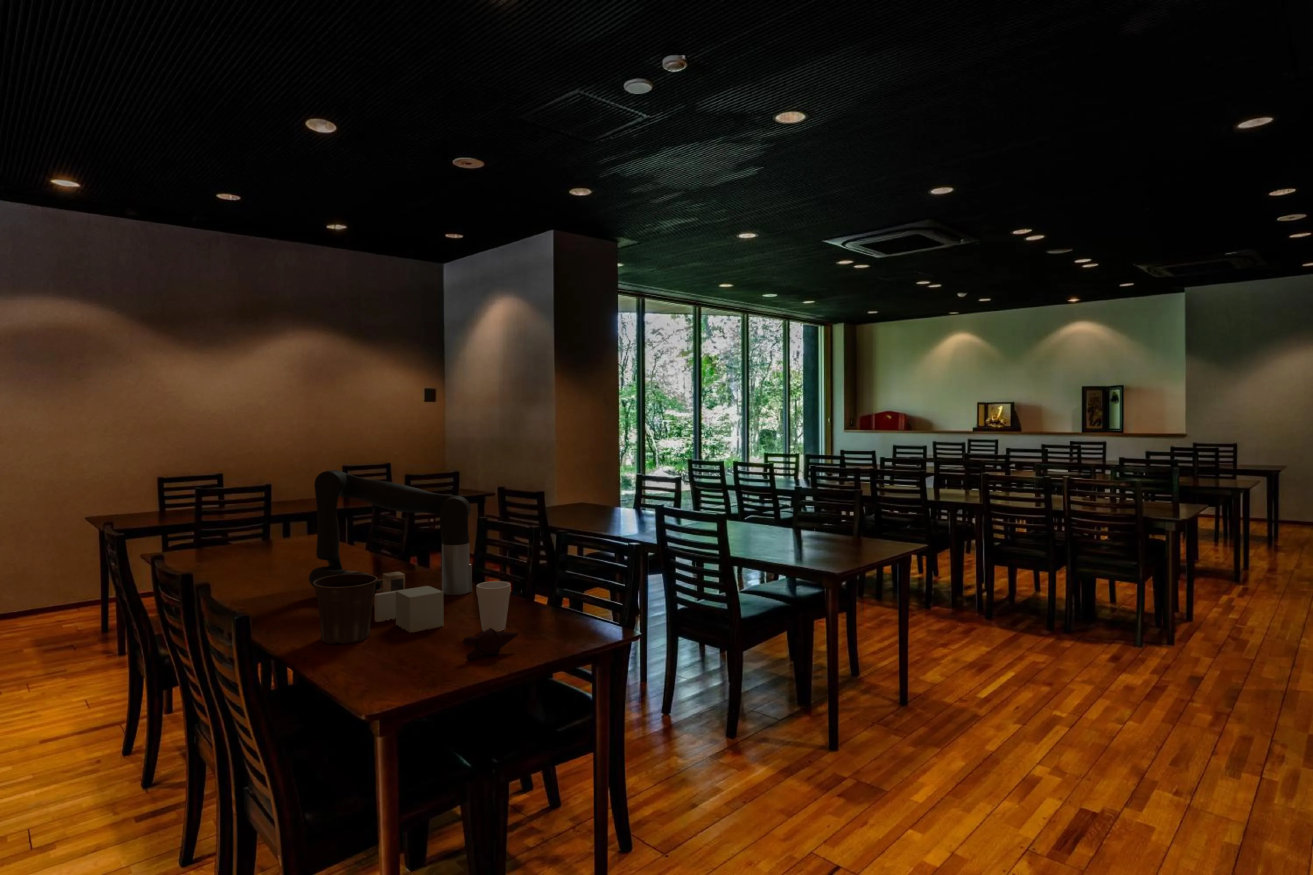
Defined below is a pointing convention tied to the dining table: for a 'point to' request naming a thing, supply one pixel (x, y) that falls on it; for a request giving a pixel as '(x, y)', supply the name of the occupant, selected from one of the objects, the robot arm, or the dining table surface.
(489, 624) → the foam cup
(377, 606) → the screen
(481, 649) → the icecream
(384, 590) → the birch block
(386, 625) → the dining table surface
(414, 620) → the stand
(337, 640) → the plant pot
